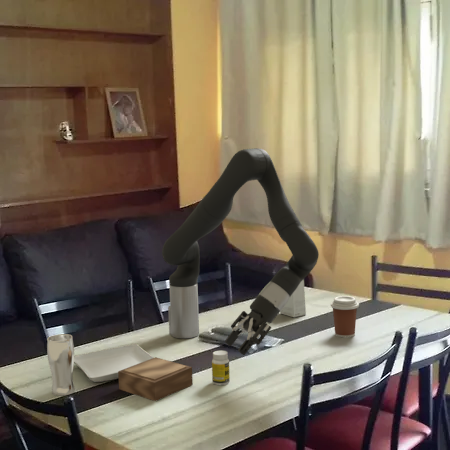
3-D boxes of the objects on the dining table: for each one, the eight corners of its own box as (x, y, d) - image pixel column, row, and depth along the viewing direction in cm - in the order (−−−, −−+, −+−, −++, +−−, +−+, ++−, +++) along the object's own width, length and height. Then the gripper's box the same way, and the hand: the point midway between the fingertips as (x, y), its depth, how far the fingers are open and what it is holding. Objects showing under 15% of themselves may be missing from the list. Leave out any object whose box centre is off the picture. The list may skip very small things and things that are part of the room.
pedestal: (119, 389, 198) (118, 370, 197) (156, 374, 208) (155, 356, 207) (155, 401, 189) (154, 381, 188) (192, 384, 199) (191, 366, 198)
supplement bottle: (227, 385, 198) (226, 355, 196) (210, 385, 199) (209, 355, 197) (231, 379, 202) (230, 350, 201) (214, 378, 203) (213, 349, 202)
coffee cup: (327, 337, 237) (327, 301, 235) (334, 329, 245) (334, 294, 243) (355, 339, 233) (355, 303, 232) (361, 331, 242) (361, 296, 240)
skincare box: (306, 315, 263) (305, 274, 261) (293, 318, 260) (292, 277, 257) (291, 310, 270) (290, 270, 268) (278, 313, 267) (277, 273, 264)
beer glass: (52, 387, 200) (48, 334, 198) (78, 386, 201) (74, 333, 199) (48, 397, 194) (44, 342, 191) (75, 395, 194) (71, 341, 192)
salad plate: (90, 389, 200) (90, 377, 199) (69, 366, 218) (68, 355, 218) (163, 374, 209) (162, 362, 209) (136, 353, 228) (135, 343, 227)
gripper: (249, 288, 209) (214, 334, 206) (273, 299, 196) (236, 348, 193) (266, 304, 212) (231, 349, 209) (291, 316, 199) (254, 364, 196)
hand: (233, 348), depth 201 cm, fingers open, 8 cm apart
